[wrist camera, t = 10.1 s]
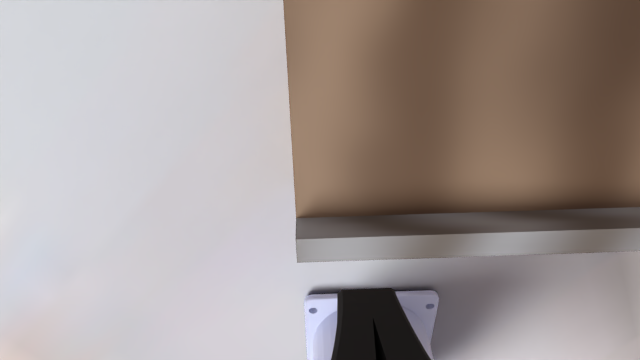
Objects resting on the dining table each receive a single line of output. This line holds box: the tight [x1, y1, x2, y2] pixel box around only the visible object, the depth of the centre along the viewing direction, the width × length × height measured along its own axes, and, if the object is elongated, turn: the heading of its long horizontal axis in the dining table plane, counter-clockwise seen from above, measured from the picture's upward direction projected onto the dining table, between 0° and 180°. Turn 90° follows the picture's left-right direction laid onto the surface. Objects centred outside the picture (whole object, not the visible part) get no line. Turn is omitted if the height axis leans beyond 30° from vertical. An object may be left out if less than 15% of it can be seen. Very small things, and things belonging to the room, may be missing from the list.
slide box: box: [283, 0, 640, 263], centre depth 16 cm, size 22×13×5 cm, turn 91°
